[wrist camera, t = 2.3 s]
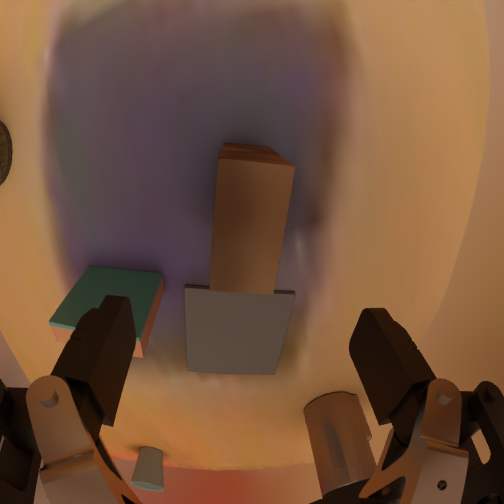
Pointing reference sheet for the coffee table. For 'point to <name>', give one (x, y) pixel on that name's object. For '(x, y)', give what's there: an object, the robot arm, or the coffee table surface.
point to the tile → (111, 283)
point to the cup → (149, 470)
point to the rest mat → (235, 330)
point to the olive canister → (5, 152)
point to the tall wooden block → (249, 218)
